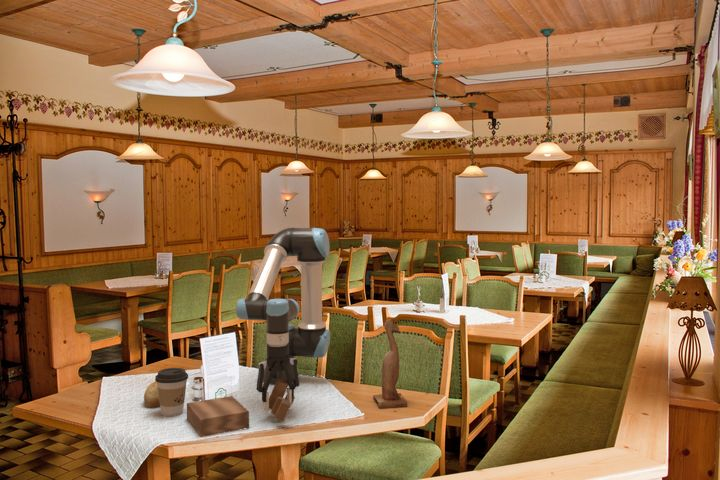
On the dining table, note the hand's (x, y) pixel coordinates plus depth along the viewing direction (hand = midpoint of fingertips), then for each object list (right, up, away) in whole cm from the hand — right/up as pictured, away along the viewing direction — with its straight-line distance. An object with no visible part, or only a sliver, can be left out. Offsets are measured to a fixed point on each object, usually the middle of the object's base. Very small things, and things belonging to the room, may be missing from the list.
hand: (278, 408), depth 206 cm
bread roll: (-46, -2, +16) cm, 49 cm away
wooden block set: (+1, -1, -1) cm, 2 cm away
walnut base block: (-20, -4, -6) cm, 21 cm away
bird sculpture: (+40, -3, +16) cm, 43 cm away
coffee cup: (-38, -3, +4) cm, 38 cm away
